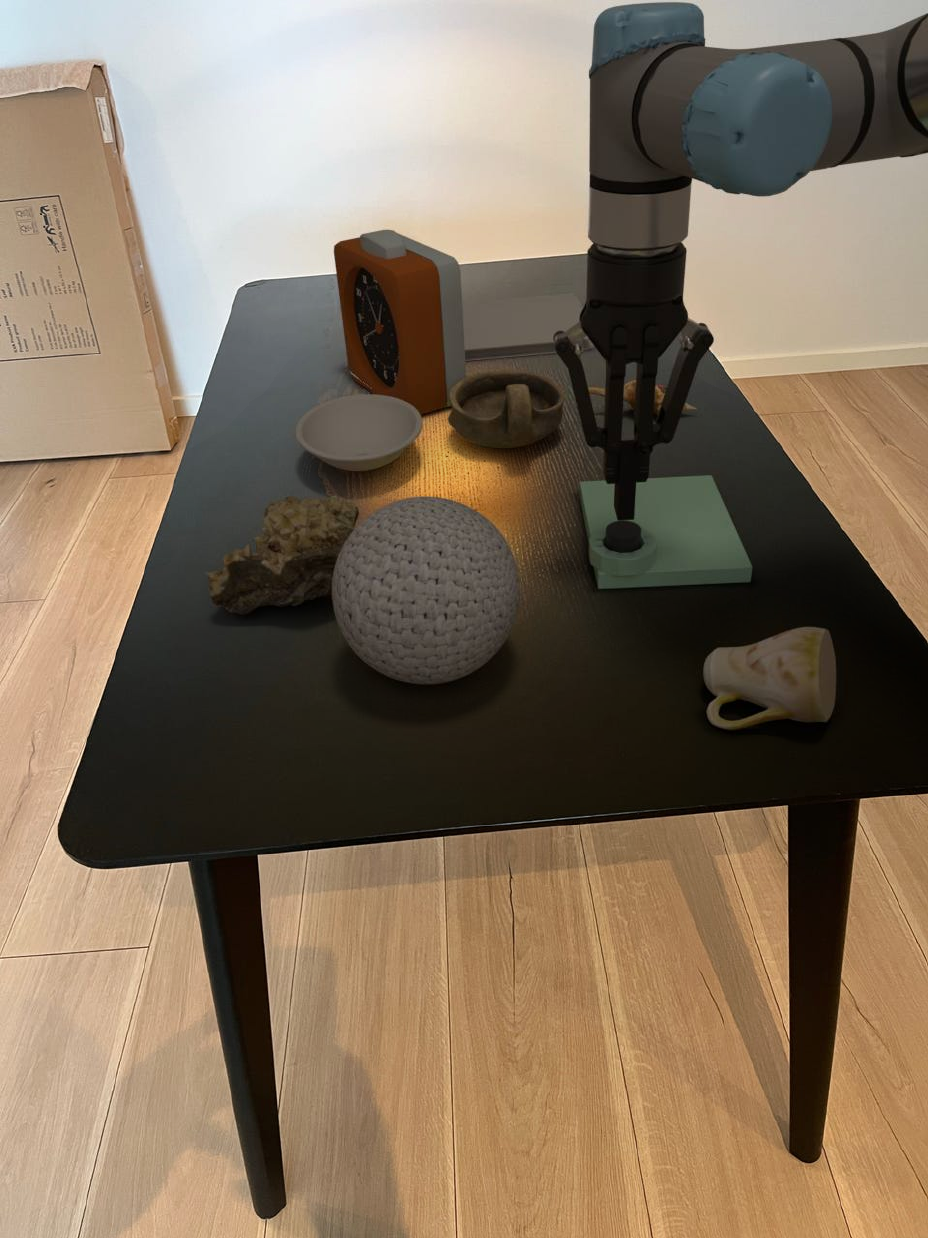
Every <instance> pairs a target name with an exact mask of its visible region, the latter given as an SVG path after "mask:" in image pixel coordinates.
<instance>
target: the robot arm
mask: <svg viewBox="0 0 928 1238" xmlns="http://www.w3.org/2000/svg"><path fill="white" fill-rule="evenodd" d="M592 33H593V34H592V35H593V36H592V52H591V66H590V68H589V69H588V79H589V141H588V143H589V144H588V145H589V155H588V157H589V158H588V164H589V165H588V167H589V168H588V170H589V171H588V172H589V188H588V194H589V195H588V218H587V219H588V221H587V222H588V223H587V237H588V240H590V242H591V243H592V244H591V245H590V246H589V248H587V254H586V297H585V302H584V305H583V307H582V308H583V309H582V311H581V313H580V318H579V320H580V322H578V323H577V324H575V325H574V326H573V327H571V328H570V329H568V330H567V331H557V332H556V333H555V334H554V336H553V341H554V345H555V350H556V352H557V353H556V354H557V356H558V357H559V358H560V360H561V362H562V363H563V364H564V365H565V367H566V368H567V371H568V374H569V379H570V383H571V388H572V391H573V394H574V399H575V402H576V407H577V411H578V415H579V419H580V423H581V427H582V431H583V435H584V439H585V443H586V445H587V446H588V447H589V448H596V447H597V448H600V449H602V450H603V466H602V467H603V469H602V473H603V477H604V481H605V480H606V482H607V484H615V488H614V509H615V512H616V516H617V520H634V515H635V497H636V482H646V481H647V479H648V478H649V476H650V475H649V474H650V461H651V454H652V453H653V450H654V448H653V447H655V446H657V445H660V444H664V445H665V444H670V443H671V442H673V439H674V437H675V434H676V431H677V429H678V425H679V423H680V419H681V416H682V413H683V408H684V405H685V403H687V402H686V401H687V398H688V396H689V393H690V390H691V387H692V384H693V381H694V378H695V376H696V372H697V369H698V366H699V363H700V362H701V360H702V358H704V356H705V355H706V354H707V352H708V351H709V349H710V348H711V347H712V346H713V344H714V342H715V339H714V335H713V334H712V332H711V330H710V328H709V327H708V325H707V323H704V322H696V321H695V320H693V319H692V318H690V317H689V313H688V312H689V311H688V309H687V308H686V306H685V303H684V291H685V277H686V265H687V251H688V250H687V247H686V246H685V245H684V243H683V241H685V240H686V239H687V237H688V236H689V225H690V212H691V197H692V183H693V180H696V181H699V182H702V183H705V184H706V185H709V186H710V187H712V188H713V189H715V190H721V191H723V192H724V193H726V194H731V195H732V194H733V195H740V194H742V195H747V196H753V197H758V198H759V197H762V198H765V197H772V196H776V195H779V194H782V193H785V192H786V191H788V190H789V189H790V188H792V186H794V185H795V184H796V183H797V182H799V181H800V180H801V179H803V178H805V177H807V175H808V174H809V173H810V172H814V171H815V172H816V171H821V170H827V169H833V168H836V167H838V166H845V165H851V164H858V163H864V162H865V163H866V162H873V161H878V160H879V161H880V160H886V159H891V158H898V157H899V158H912V157H916V156H921V155H925V154H928V12H927V13H924V14H922V15H920V16H918V17H916V18H913V19H912V20H911V19H910V20H909V21H907V22H904V23H902V24H900V25H898V26H896V27H893V28H890V29H887V30H883V31H880V32H876V33H869V34H868V33H867V34H861V35H855V36H848V37H836V38H828V39H822V40H820V39H819V40H812V41H803V42H794V43H785V44H777V45H768V46H760V47H752V48H751V47H750V48H723V47H715V46H714V47H713V46H706V37H705V16H704V12H703V11H702V9H701V8H700V7H699V6H698V5H697V4H695V3H691V2H685V1H662V2H659V1H658V2H639V3H631V4H621V5H616V6H615V5H614V6H611V7H609V8H606V9H604V10H603V11H602V12H600V13H599V15H598V16H597V18H596V19H595V22H594V25H593V32H592ZM679 335H680V336H679ZM586 336H587V337H588V338H589V340H590V341H591V342H592V344H593V345H594V348H595V349H596V350H597V352H598V353H599V355H600V356H601V357H602V358H603V359H604V360H605V384H604V385H605V386H604V387H605V388H604V389H605V397H604V415H603V427H601V426H598V425H597V420H596V416H595V411H594V407H593V404H592V398H591V394H589V390H588V388H589V386H588V381H587V378H586V374H585V369H584V365H583V362H582V358H581V355H583V353H584V352H585V351H586V350H585V347H584V343H583V340H584V338H585V337H586ZM678 336H679V339H678V340H679V341H678V342H679V344H680V347H679V349H678V352H677V355H676V358H675V361H674V363H673V367H672V370H671V373H670V376H669V379H668V382H667V385H666V389H665V390H664V391H665V394H664V397H663V401H662V404H661V407H660V410H659V413H658V416H657V415H656V416H657V417H656V419H655V422H654V414H655V413H654V400H655V385H657V384H656V381H657V376H658V370H659V369H658V368H659V358H661V357H662V356H663V354H665V352H666V351H667V349H668V348H669V347H670V346H671V344H673V342H674V341H675V339H676V338H677V337H678ZM632 363H636V374H635V375H636V377H635V380H636V394H635V411H634V416H633V439H624V440H623V439H622V437H623V436H622V435H623V418H624V417H623V415H624V401H623V397H624V385H625V378H626V373H627V372H626V371H627V365H628V364H632Z"/></svg>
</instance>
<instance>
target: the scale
mask: <svg viewBox="0 0 928 1238" xmlns="http://www.w3.org/2000/svg"><path fill="white" fill-rule="evenodd" d="M614 488H615V484H607V482H606V480H605V479H604V480H587V481H579V482H578V497H579V502H580V507H581V512H582V516H583V522H584V527H585V531H586V536H587V541H588V560H589V563H590V565H591V566H592V567H593V571H594V576H595V581H596V586H597V590H605V589H606V590H610V589H628V588H629V589H630V588H631V589H632V588H651V587H653V588H654V587H671V586H673V587H674V586H695V585H696V586H697V585H715V584H716V585H718V584H738V583H740V584H741V583H751V582H752V581H751V580H752V574H753V565H752V563H751V560H750V559H749V556H748V554H747V551H746V549H745V547H744V545H743V542H742V540H741V538H740V535H739V533H738V532H737V529H736V527H735V525H734V522H733V520H732V518H731V516H730V513H729V511H728V509H727V507H726V505H725V502H724V500H723V498H722V495H721V493H720V491H719V489H718V486H717V484H716V482H715V479H714V477H713V476H712V475H711V474H710V475H709V474H708V475H690V476H689V475H688V476H686V475H685V476H669V477H668V476H666V477H665V476H664V477H650V478H649V477H648V479H647V481H646V482H636V497H635V515H634V520H617V516H616V512H615V509H614ZM615 521H631V522H634V523H636V524H638V525H639V526H640V527H641V544H640V548H639V550H636V551H634V552H629V553H619V552H615V551H610V550H608V549H607V548H606V546H605V540H606V527H607V526H608V525H609V524H610V523H612V522H615Z"/></svg>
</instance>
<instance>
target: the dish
mask: <svg viewBox="0 0 928 1238" xmlns="http://www.w3.org/2000/svg"><path fill="white" fill-rule="evenodd" d="M423 422H424V421H423V418H422V414H421V415H420V413H419V412H418V410H417V409H416V408H415V407H413V406H412V405H411V404H409V403H407V402H405V401H403V400H401V399H398V398H394V397H390V396H385V395H377V394H374V393H361V394H360V393H359V394H350V395H344V396H340V397H336V398H335V397H334V398H332V399H329V400H326V401H324V402H322V403H319V404H317V405H315V406H314V407H312V408H310V409H309V410H307V411H306V412H305V413H304V414H303V415H302V416H301V417H300V419H299V420H298V422H297V424H296V426H295V438H296V440H297V443H298V444H299V445H300V447H302V448H303V449H304V450H305V451H307V452H308V453H310V454H312V455H314V456H315V457H316V458H318V459H319V460H320V461H322V462H324V463H325V464H327V465H329V466H332V467H334V468H337V469H339V470H344V471H349V472H366V471H371V470H375V469H379V468H381V467H384V466H387V465H388V464H390V463H392V462H393V461H395V460H396V459H398V458H399V457H400V456H401V455H402V454H404V452H405V451H406V450H407V449H408V448H409V446H410V445H412V444H413V443H414V442H415V441H416V440H417V439H418V437H419V436H420V434H421V433H422V429H423Z"/></svg>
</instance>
